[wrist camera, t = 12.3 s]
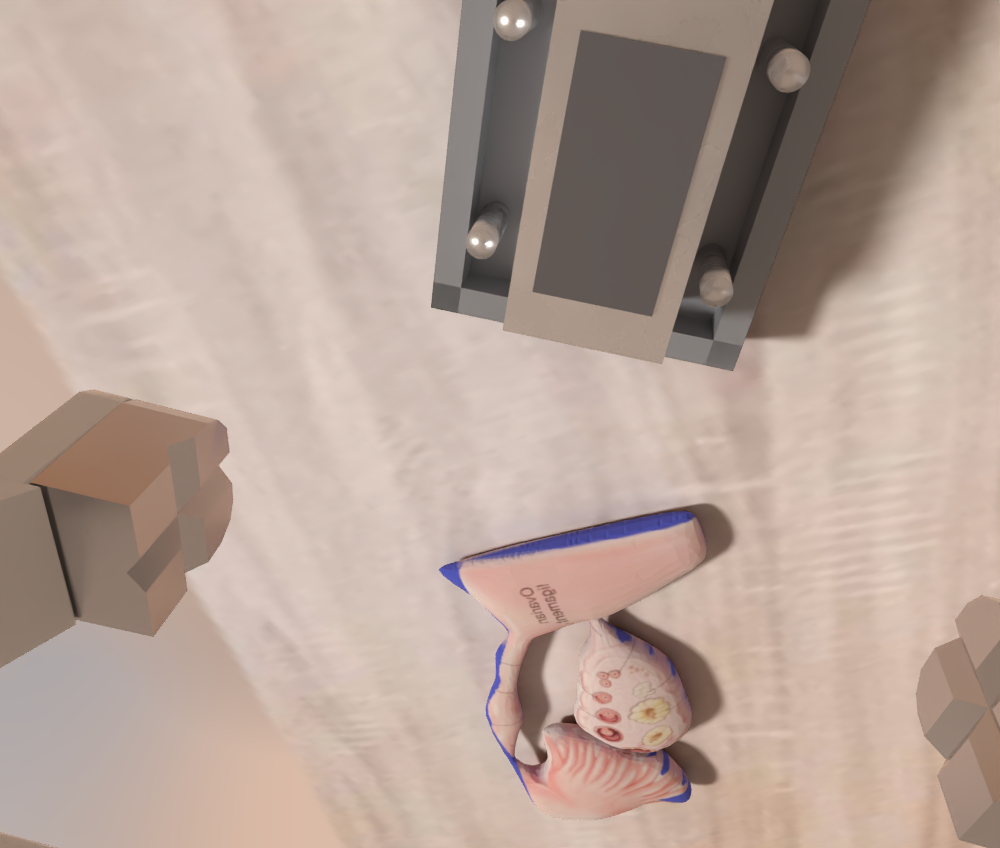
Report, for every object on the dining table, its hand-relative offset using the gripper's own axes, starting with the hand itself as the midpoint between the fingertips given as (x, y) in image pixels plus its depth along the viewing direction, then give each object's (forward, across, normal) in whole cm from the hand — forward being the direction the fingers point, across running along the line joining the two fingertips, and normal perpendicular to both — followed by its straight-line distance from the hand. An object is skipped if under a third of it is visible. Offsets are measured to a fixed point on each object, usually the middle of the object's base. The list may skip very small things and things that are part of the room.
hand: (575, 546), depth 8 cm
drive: (+20, 0, 0) cm, 20 cm away
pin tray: (+21, 0, 0) cm, 21 cm away
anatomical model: (+21, -5, +27) cm, 35 cm away
